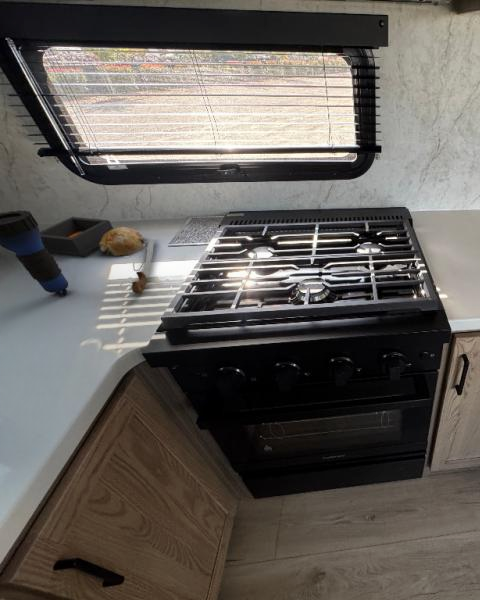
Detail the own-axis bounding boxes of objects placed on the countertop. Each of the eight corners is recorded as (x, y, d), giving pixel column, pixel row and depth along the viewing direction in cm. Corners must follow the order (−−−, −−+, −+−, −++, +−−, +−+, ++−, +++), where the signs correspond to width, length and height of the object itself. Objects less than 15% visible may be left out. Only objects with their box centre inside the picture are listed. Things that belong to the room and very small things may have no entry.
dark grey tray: (38, 253, 97) (26, 235, 94) (79, 232, 107) (69, 215, 104) (86, 258, 96) (74, 240, 92) (122, 236, 106) (113, 220, 102)
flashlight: (52, 286, 85) (-4, 210, 73) (88, 284, 86) (39, 208, 74) (32, 307, 79) (-34, 227, 67) (71, 303, 80) (13, 224, 68)
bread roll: (144, 264, 100) (147, 239, 97) (97, 259, 94) (99, 233, 91) (143, 249, 107) (146, 225, 104) (99, 244, 100) (101, 218, 97)
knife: (136, 286, 79) (150, 228, 100) (129, 287, 79) (145, 228, 100) (145, 300, 82) (157, 241, 103) (138, 302, 82) (152, 242, 103)
